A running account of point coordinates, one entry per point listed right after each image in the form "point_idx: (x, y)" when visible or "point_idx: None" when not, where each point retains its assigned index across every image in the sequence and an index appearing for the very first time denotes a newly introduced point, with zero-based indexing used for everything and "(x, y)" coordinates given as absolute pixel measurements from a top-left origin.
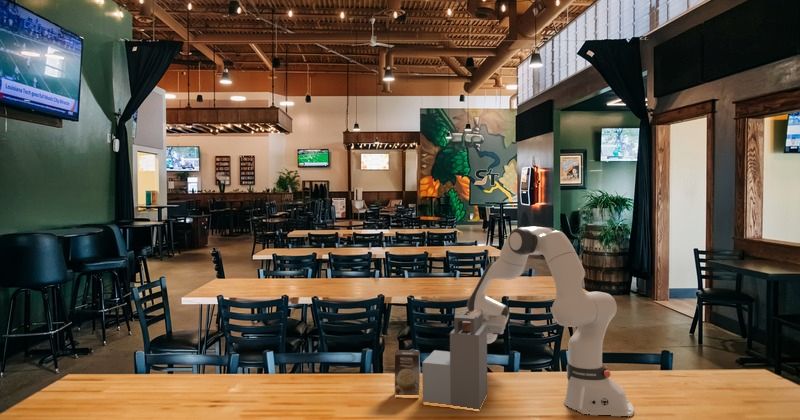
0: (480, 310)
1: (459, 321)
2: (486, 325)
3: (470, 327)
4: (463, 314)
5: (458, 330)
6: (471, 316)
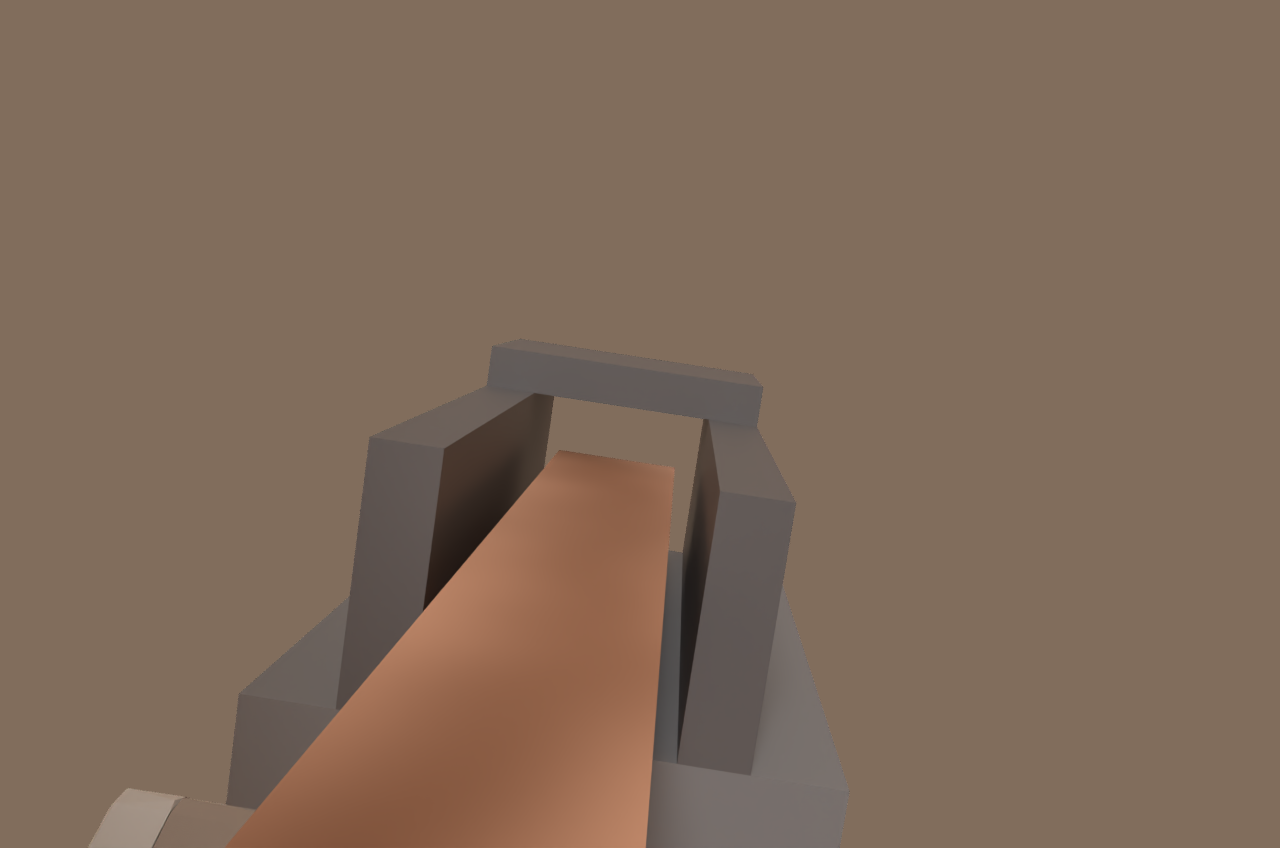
0: (307, 835)
1: (702, 443)
2: (246, 694)
3: (546, 447)
4: (723, 448)
5: (687, 530)
6: (558, 352)
